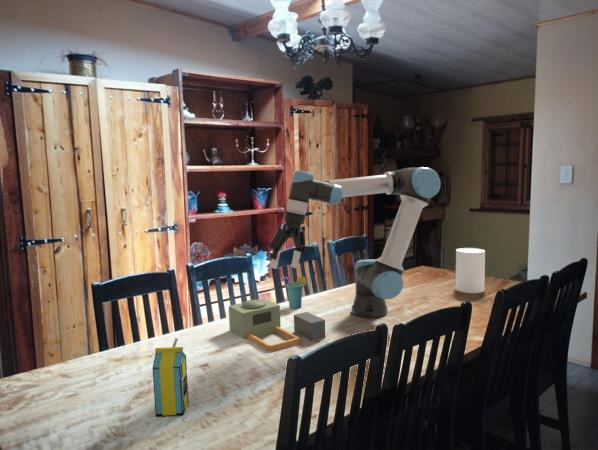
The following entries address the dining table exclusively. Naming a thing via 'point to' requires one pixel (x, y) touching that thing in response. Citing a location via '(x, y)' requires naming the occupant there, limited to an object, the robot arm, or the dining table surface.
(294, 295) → the cup
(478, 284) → the canister
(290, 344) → the green box with frame
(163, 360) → the carton
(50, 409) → the dining table surface
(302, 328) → the grey concrete block
